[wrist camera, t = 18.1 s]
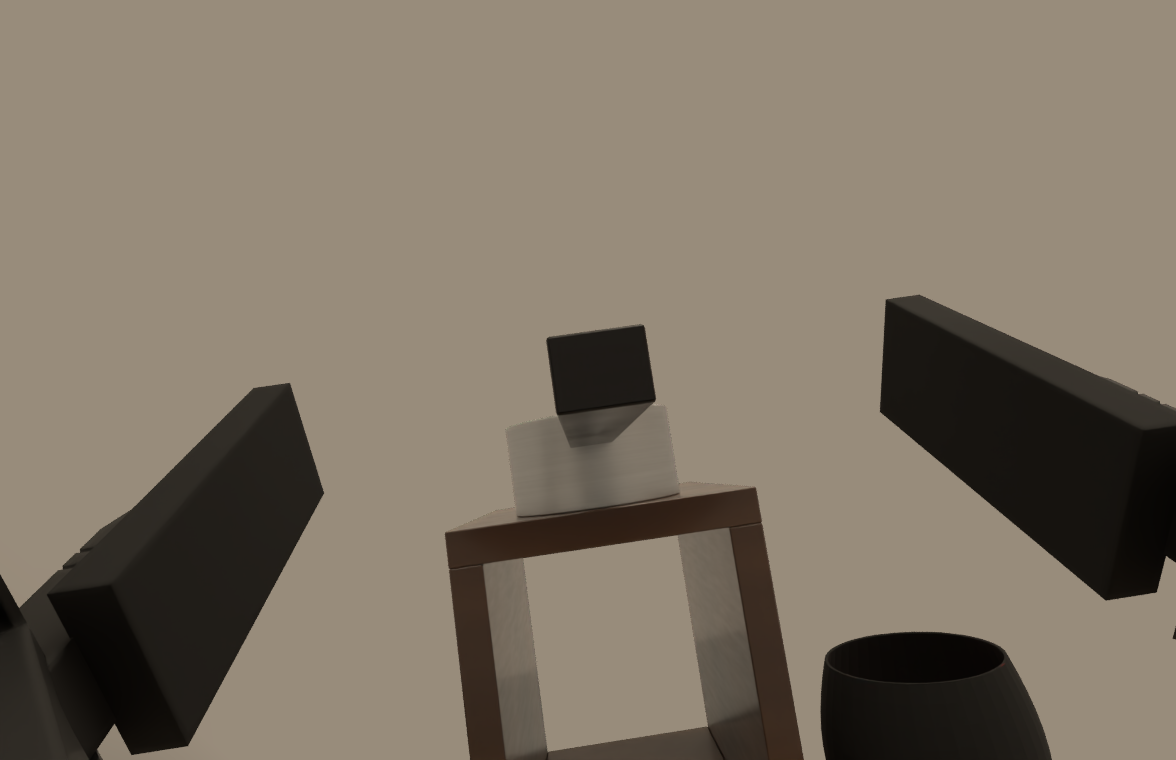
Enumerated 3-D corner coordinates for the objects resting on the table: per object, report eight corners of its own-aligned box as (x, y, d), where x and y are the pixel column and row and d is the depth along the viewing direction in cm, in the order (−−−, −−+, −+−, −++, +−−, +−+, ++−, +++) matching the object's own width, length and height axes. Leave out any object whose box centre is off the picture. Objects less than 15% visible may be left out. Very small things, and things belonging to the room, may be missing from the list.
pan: (846, 525, 13) (802, 297, 13) (406, 591, 13) (382, 355, 13) (668, 490, 39) (656, 412, 39) (523, 511, 39) (513, 433, 39)
